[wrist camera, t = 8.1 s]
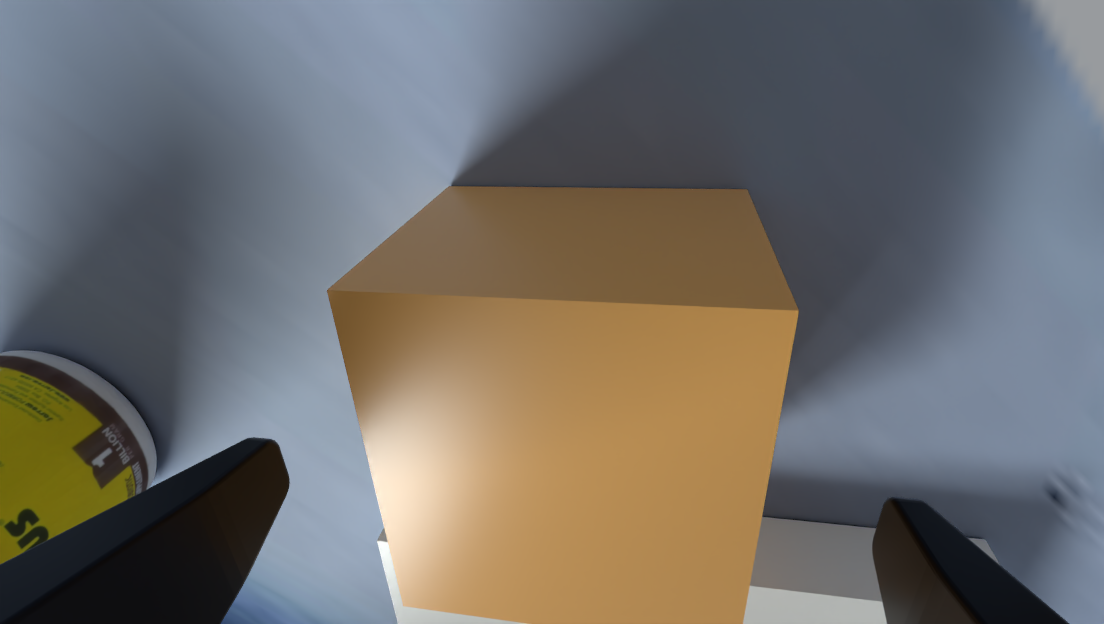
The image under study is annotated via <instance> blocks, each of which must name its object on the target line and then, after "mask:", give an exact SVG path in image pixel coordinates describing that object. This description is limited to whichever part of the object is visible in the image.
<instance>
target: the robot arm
mask: <svg viewBox="0 0 1104 624" xmlns="http://www.w3.org/2000/svg"><path fill="white" fill-rule="evenodd" d="M289 483H290V482H289V475H288V472H287V469H286V465H285V462H284V459H283V456H282V453H281V450H280V447H279V445H278V443H277V442H276V441H275V440H272V439H265V438H247V439H245V440H243V441H241V442H239V443H237V444H235V445H233V446H231V447H229V448H227V449H225V450H223V451H221V452H219V453H217V454H215V455H213V456H211V457H210V458H208V459H206V460H204V461H202V462H200V463H198V464H196V465H194V466H192V467H190V468H188V469H186V470H184V471H182V472H180V473H178V474H176V475H174V476H172V477H170V478H168V479H166V480H164V481H162V482H161V483H159V484H157V485H155V486H153V487H151V488H149V489H147V490H145V491H143V492H141V493H139V494H137V495H135V496H133V497H131V498H129V499H127V500H125V501H123V502H121V503H119V504H117V505H115V506H113V507H111V508H110V509H108V510H106V511H104V512H102V513H100V514H98V515H96V516H94V517H92V518H90V519H88V520H86V521H84V522H82V523H80V524H78V525H76V526H74V527H72V528H70V529H68V530H66V531H64V532H62V533H61V534H59V535H57V536H55V537H53V538H51V539H49V540H47V541H45V542H43V543H41V544H39V545H37V546H35V547H33V548H31V549H29V550H27V551H25V552H23V553H21V554H19V555H17V556H15V557H13V558H12V559H10V560H8V561H6V562H4V563H2V564H0V624H221V622H222V620H223V619H224V617H225V615H226V614H227V612H228V610H229V608H230V607H231V605H232V603H233V602H234V600H235V598H236V597H237V595H238V593H239V591H240V590H241V588H242V586H243V584H244V582H245V580H246V578H247V576H248V575H249V573H250V571H251V569H252V567H253V565H254V563H255V560H256V558H257V556H258V554H259V552H260V550H261V548H262V546H263V544H264V541H265V539H266V537H267V535H268V533H269V531H270V529H271V527H272V525H273V522H274V520H275V518H276V516H277V514H278V512H279V510H280V508H281V506H282V504H283V501H284V499H285V497H286V495H287V492H288V489H289ZM872 554H873V560H874V565H875V570H876V575H877V579H878V584H879V589H880V593H881V598H882V603H883V607H884V612H885V617H886V621H887V624H1069V623H1068V622H1067V621H1066V620H1064V619H1063V618H1062V617H1061V616H1060V615H1058V614H1057V613H1056V612H1055V611H1054V610H1053V609H1051V608H1050V607H1049V606H1048V605H1047V604H1045V603H1044V602H1043V601H1042V600H1041V599H1040V598H1038V597H1037V596H1036V595H1035V594H1034V593H1032V592H1031V591H1030V590H1029V589H1028V588H1026V587H1025V586H1024V585H1023V584H1022V583H1021V582H1019V581H1018V580H1017V579H1016V578H1015V577H1013V576H1012V575H1011V574H1010V573H1009V572H1008V571H1006V570H1005V569H1004V568H1003V567H1002V566H1000V565H999V564H998V563H997V562H996V561H995V560H993V559H992V558H991V557H990V556H989V555H987V554H986V553H985V552H984V551H983V550H982V549H980V548H979V547H978V546H977V545H976V544H974V543H973V542H972V541H971V540H970V539H969V538H967V537H966V536H965V535H964V534H963V533H961V532H960V531H959V530H958V529H957V528H956V527H954V526H953V525H952V524H951V523H950V522H948V521H947V520H946V519H945V518H944V517H942V516H941V515H940V514H939V513H938V512H937V511H935V510H934V509H933V508H932V507H931V506H929V505H928V504H927V503H925V502H924V501H922V500H919V499H911V498H901V497H890V498H888V499H887V500H886V501H885V503H884V505H883V508H882V511H881V514H880V517H879V521H878V524H877V527H876V530H875V534H874V537H873V541H872Z"/></svg>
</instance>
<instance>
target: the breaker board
mask: <svg viewBox="0 0 1104 624" xmlns="http://www.w3.org/2000/svg"><path fill="white" fill-rule="evenodd" d="M875 530H876V528H867V527H857V526H848V525H838V524H828V523H818V522H808V521H798V520H788V519H778V518H769V517H762V520H761V526H760V531H759V537H758V542H757V548H756V554H755V559H754V565H753V570H752V576H751V581H750V587H749V593H748V598H747V604H746V609H745V615H744V620H743V624H887V621H886V617H885V612H884V607H883V603H882V598H881V593H880V589H879V584H878V579H877V575H876V570H875V565H874V560H873V554H872V541H873V537H874V534H875ZM969 539H970V540H971V541H972V542H973V543H974V544H976V545H977V546H978V547H979V548H980V549H982V550H983V551H984V552H985V553H986V554H987V555H989V556H990V557H991V558H992V559H993V560H995V561H996V562H997V563H998V564H999V562H998V560H997V559H996V557H995V555H994V554H993V552H992V550H991V549H990V547H989V545H988V543H987V542H986V540H985V539H976V538H969ZM377 542H378V546H379V550H380V554H381V558H382V562H383V566H384V570H385V574H386V578H387V582H388V586H389V590H390V594H391V598H392V602H393V606H394V610H395V614H396V618H397V622H398V624H527V623H519V622H512V621H505V620H498V619H491V618H484V617H477V616H469V615H462V614H455V613H448V612H441V611H434V610H427V609H419V608H412V607H405V606H403V603H402V599H401V595H400V591H399V587H398V583H397V578H396V574H395V570H394V566H393V562H392V558H391V554H390V549H389V545H388V541H387V537H386V533H385V529H383V531H382V533H381V534H380V536H379V538H378V540H377ZM999 565H1000V564H999ZM1000 566H1001V565H1000Z"/></svg>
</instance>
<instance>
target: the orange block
mask: <svg viewBox="0 0 1104 624" xmlns="http://www.w3.org/2000/svg"><path fill="white" fill-rule="evenodd" d="M327 293H328V297H329V301H330V305H331V309H332V313H333V317H334V322H335V326H336V330H337V334H338V338H339V342H340V346H341V351H342V355H343V359H344V363H345V367H346V371H347V375H348V380H349V384H350V388H351V392H352V396H353V400H354V404H355V409H356V413H357V417H358V421H359V425H360V429H361V433H362V438H363V442H364V446H365V450H366V454H367V458H368V462H369V467H370V471H371V475H372V479H373V483H374V487H375V491H376V496H377V500H378V504H379V508H380V512H381V516H382V520H383V525H384V529H385V533H386V537H387V541H388V545H389V549H390V554H391V558H392V562H393V566H394V570H395V574H396V578H397V583H398V587H399V591H400V595H401V599H402V603H403V606H405V607H412V608H419V609H427V610H434V611H441V612H448V613H455V614H462V615H469V616H477V617H484V618H491V619H498V620H505V621H512V622H519V623H527V624H743V620H744V615H745V609H746V604H747V598H748V593H749V587H750V581H751V576H752V570H753V565H754V559H755V554H756V548H757V542H758V537H759V531H760V526H761V520H762V514H763V509H764V503H765V498H766V492H767V487H768V481H769V475H770V470H771V464H772V459H773V453H774V448H775V442H776V436H777V431H778V425H779V420H780V414H781V408H782V403H783V397H784V392H785V386H786V381H787V375H788V369H789V364H790V358H791V353H792V347H793V342H794V336H795V330H796V325H797V319H798V314H799V310H798V307H797V305H796V303H795V300H794V298H793V296H792V293H791V291H790V288H789V286H788V284H787V281H786V279H785V277H784V274H783V272H782V270H781V267H780V265H779V263H778V260H777V258H776V256H775V253H774V251H773V249H772V246H771V244H770V242H769V239H768V237H767V235H766V232H765V230H764V227H763V225H762V223H761V220H760V218H759V216H758V213H757V211H756V209H755V206H754V204H753V202H752V199H751V197H750V195H749V192H748V190H747V189H674V188H578V187H481V186H449V187H448V188H446V189H445V190H444V191H443V192H442V193H441V194H439V195H438V196H437V197H436V198H435V199H433V200H432V201H431V202H430V203H429V204H428V205H426V206H425V207H424V208H423V209H422V210H421V211H419V212H418V213H417V214H416V215H415V216H414V217H412V218H411V219H410V220H409V221H408V222H406V223H405V224H404V225H403V226H402V227H401V228H399V229H398V230H397V231H396V232H395V233H394V234H392V235H391V236H390V237H389V238H388V239H386V240H385V241H384V242H383V243H382V244H381V245H379V246H378V247H377V248H376V249H375V250H374V251H372V252H371V253H370V254H369V255H368V256H367V257H365V258H364V259H363V260H362V261H361V262H359V263H358V264H357V265H356V266H355V267H354V268H352V269H351V270H350V271H349V272H348V273H347V274H345V275H344V276H343V277H342V278H341V279H340V280H338V281H337V282H336V283H335V284H334V285H332V286H331V287H330V288H329V289H328V290H327Z"/></svg>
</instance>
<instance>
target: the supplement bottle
mask: <svg viewBox="0 0 1104 624" xmlns="http://www.w3.org/2000/svg"><path fill="white" fill-rule="evenodd" d="M156 468H157V457H156V449H155V445H154V442H153V439H152V436H151V434H150V431H149V429H148V428H147V426H146V424H145V422H144V421H143V419H142V418H141V416H140V415H139V413H138V412H137V410H136V409H135V408H134V406H133V405H132V404H131V403H130V402H129V401H128V399H127V398H126V397H125V396H124V395H122V394H121V393H120V392H119V391H118V390H117V389H116V388H115V387H114V386H112V385H111V384H110V383H108V382H107V381H106V380H104V379H103V378H102V377H100V376H99V375H97V374H96V373H94V372H93V371H91V370H89V369H87V368H85V367H84V366H82V365H79V364H77V363H75V362H73V361H70V360H68V359H66V358H62V357H59V356H56V355H53V354H48V353H44V352H38V351H28V350H19V351H8V352H2V353H0V564H2V563H4V562H6V561H8V560H10V559H12V558H13V557H15V556H17V555H19V554H21V553H23V552H25V551H27V550H29V549H31V548H33V547H35V546H37V545H39V544H41V543H43V542H45V541H47V540H49V539H51V538H53V537H55V536H57V535H59V534H61V533H62V532H64V531H66V530H68V529H70V528H72V527H74V526H76V525H78V524H80V523H82V522H84V521H86V520H88V519H90V518H92V517H94V516H96V515H98V514H100V513H102V512H104V511H106V510H108V509H110V508H111V507H113V506H115V505H117V504H119V503H121V502H123V501H125V500H127V499H129V498H131V497H133V496H135V495H137V494H139V493H141V492H143V491H145V490H147V489H149V488H150V486H151V484H152V482H153V480H154V477H155V473H156Z"/></svg>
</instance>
